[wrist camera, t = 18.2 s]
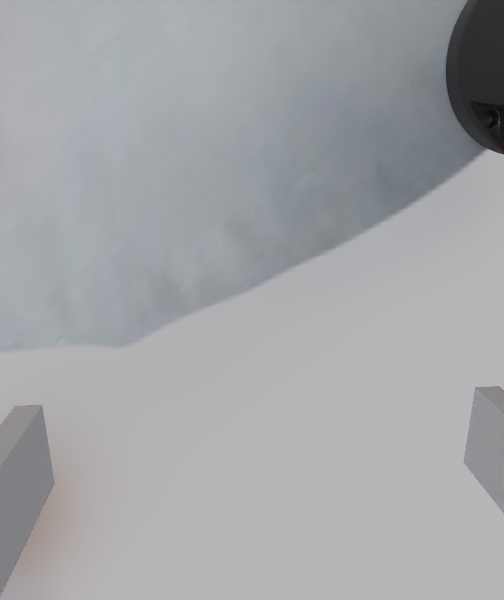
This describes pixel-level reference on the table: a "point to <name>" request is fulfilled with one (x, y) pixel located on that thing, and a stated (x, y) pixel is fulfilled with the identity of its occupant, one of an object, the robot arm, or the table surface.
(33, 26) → the table surface
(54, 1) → the table surface
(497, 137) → the robot arm
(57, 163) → the table surface
